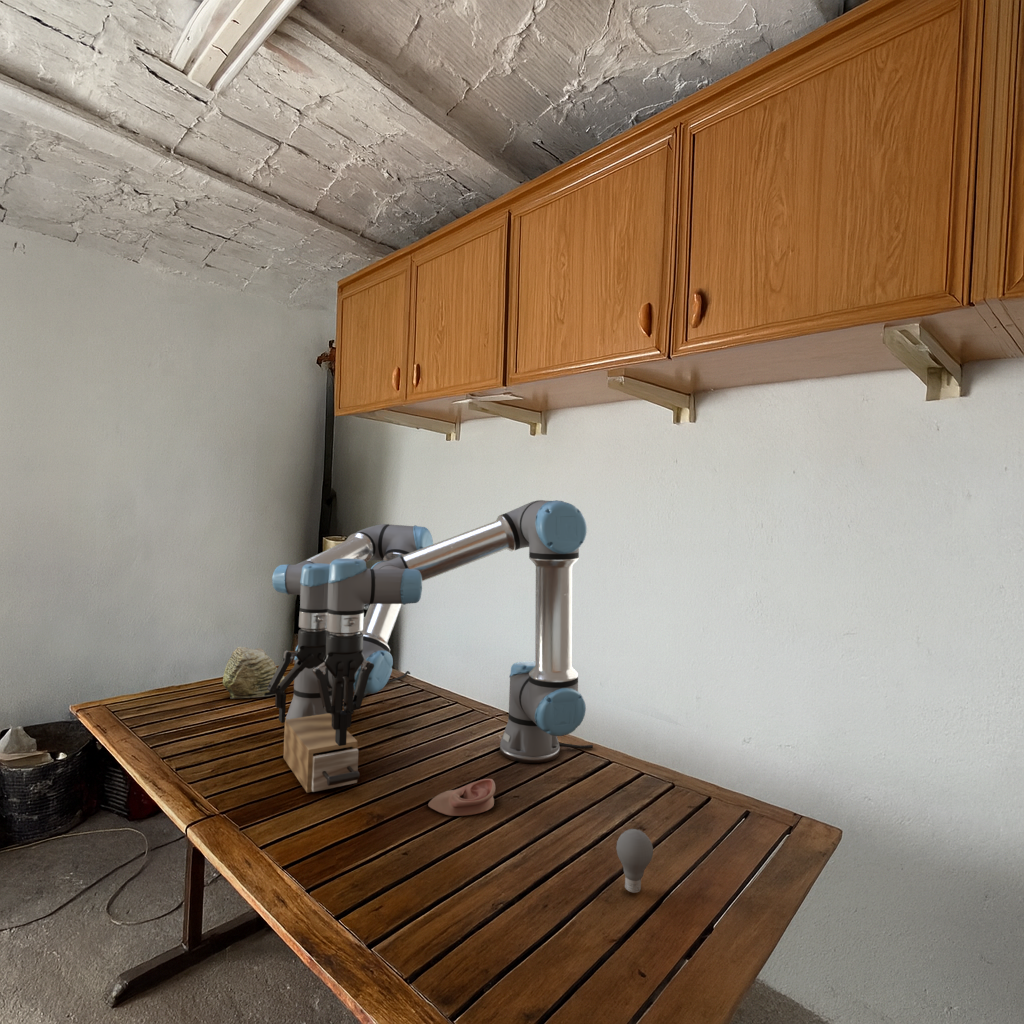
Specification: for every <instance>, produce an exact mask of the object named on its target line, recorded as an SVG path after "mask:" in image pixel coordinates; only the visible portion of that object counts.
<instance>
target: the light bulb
mask: <svg viewBox="0 0 1024 1024" xmlns="http://www.w3.org/2000/svg"><path fill="white" fill-rule="evenodd" d="M615 849H616V854H617V857H618V859H619V861H620V863H621V865H622V867H623V873H624V874H623V875H624V876H625V878H624V888H625V890H627V891H628V892H630V893H634V894H635V893H639V892H640V891H641V889H642V887H641V886H642V879H643V877H644V875H645V871H646V868H647V867H648V866H649V864H650V863H651V861H652V859H653V855H654V847H653V843H652V841H651V838H649V836H648V835H647V834H646V833H645V832H643V831H642V830H641V829H636V828H629V829H627V830H625V831H623V832H622V833H621V834H620V835H619V837H618V839H617V841H616V847H615Z"/></svg>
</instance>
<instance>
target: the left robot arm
mask: <svg viewBox="0 0 1024 1024" xmlns="http://www.w3.org/2000/svg"><path fill="white" fill-rule="evenodd" d="M433 544H434V540H433V535H432V533H431V531H430V530H429V528H427V527H425V526H418V525H416V524H415V525H404V524H403V525H402V524H389V523H388V524H387V523H382V524H381V523H380V524H376V525H372V526H368V527H366V528H363V529H360V530H358V531H356V532H354V533H351V534H350V535H348V537H347V538H346V539H345V541H342V542H341V543H339V544H336V545H334V546H332V547H330V548H328V549H326V550H324V551H322V552H320V553H318V554H315V555H313V556H311V557H309V558H307V559H304V560H303V561H301V562H299V563H296V564H291V563H287V564H279V565H278V566H276V568H275V569H274V570H273V573H272V576H271V581H272V587H273V589H274V590H275V591H276V592H277V593H280V594H286V595H294V596H295V595H296V596H299V600H300V601H299V604H300V605H299V616H298V628H300V629H299V630H298V634H297V645H296V647H295V650H288V649H284V650H283V653H282V659H281V661H280V663H279V665H278V667H276V668H277V670H276V672H275V674H274V676H273V678H272V680H271V681H270V683H269V685H268V687H267V689H268V690H269V692H270V693H275V694H276V695H274V696H275V698H274V699H275V700H274V701H275V702H274V706H275V708H276V709H278V720H279V721H280V723H281V724H285V720H287V719H294V718H301V717H307V716H314V715H321V714H327V712H326V711H325V710H324V709H323V705H322V701H321V696H320V691H319V687H318V682H317V677H316V676H315V674H314V673H313V671H312V668H313V667H318V666H319V665H320V664H322V663H323V659H324V657H325V655H326V635H327V634H328V633H329V632H328V631H327V612H328V580H329V569H330V564H331V562H332V561H333V560H335V559H361V560H364V561H365V562H366V563H368V562H369V561H379V562H380V561H389V560H392V559H395V558H398V557H401V556H403V555H405V554H408V553H411V552H414V551H416V550H419V549H422V548H424V547H427V546H430V545H433ZM402 605H403V604H369V606H368V609H367V610H366V613H365V615H364V623H363V630H362V631H361V633H362V634H363V649H362V653H363V655H364V659H365V660H366V661H370V662H371V663H373V664H374V668H373V669H372V671H371V673H370V674H369V677H368V681H367V685H366V689H365V693H364V696H363V698H364V697H366V696H367V695H368V694H369V695H372V694H377V693H379V692H380V691H382V690H383V689H384V687H385V686H386V685H387V684H391V683H393V682H395V681H399V680H401V679H404V678H405V677H407V675H411V672H410V671H409V670H407V671H406V672H405V673H404V674H402V675H400V676H398V677H395V678H392V679H390V678H391V675H392V672H393V666H394V659H393V656H392V654H391V648H390V645H389V640H390V638H391V635H392V633H393V630H394V627H395V625H396V621H397V620H398V616H399V613H400V611H401V607H402ZM293 660H294V666H293V667H292V669H291V670H290V671H288V673H287V674H286V671H287V669H288V667H289V666H290V663H291V662H292V661H293ZM325 671H326V674H325V675H324V676H325V678H326V682H327V687H328V692H329V697H330V701H331V705H332V674H331V673H330V672H329V670H328V669H327V668H326V669H325ZM360 671H361V666H360V667H359V668H358V670H357V671H356V673H355V680H354V686H353V693H354V692H355V688H356V685H357V681H358V677H359V674H360ZM285 674H286V675H285ZM284 675H285V676H284ZM283 676H284V677H285V678H284V679H283V680H282V681H281V679H282V677H283ZM280 681H281V683H280V684H279V682H280ZM292 683H293V695H292V696H293V697H292V699H291V702H290V704H289V708H288V711H287V710H286V709H287V707H286V706H287V694H286V693H285V691H286V690H287V689H288V688H289V687H290V686H291V684H292ZM278 684H279V685H278ZM343 704H344V677H343V682H342V690H341V711H342V710H343V711H344V708H343ZM286 711H287V713H286ZM330 714H331V715H332V713H330Z"/></svg>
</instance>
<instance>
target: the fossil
mask: <svg viewBox="0 0 1024 1024" xmlns="http://www.w3.org/2000/svg"><path fill="white" fill-rule="evenodd" d="M277 668H278V667H277V665H276V663H275V662H274V660H273V659H272V658H271V657H270V656H269V655H268V654H267V653H266V652H265V650H264V649H263V648H260V647H258V648H251V647H247V646H246V647H245V646H238V647H237V648H236V649H235V650H233V651H232V653H231V656H230V657H229V659H228V660H227V663H226V666H225V668H224V671H223V675H222V676H223V677H222V685H223V687H224V688H225V690H226V691H228V693H229V698H230V699H250V698H264V697H271V696H275V695H276V694H275V693H270V692H269V690H268V689H267V687H268V685H269V683H270V681H271V680H272V678H273V676H274V674H275V672H276V670H277ZM285 677H286V676H284V675H283V677H282V679H281V681H282V680H283V679H284V678H285ZM281 681H280V682H279V684H280V683H281ZM279 684H278V685H279Z"/></svg>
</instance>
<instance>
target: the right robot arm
mask: <svg viewBox="0 0 1024 1024" xmlns="http://www.w3.org/2000/svg"><path fill="white" fill-rule="evenodd" d="M587 526H588V525H587V521H586V518H585V516H584V514H583V513H582V511H580V509H579V508H578V507H577V506H576V505H574V504H572V503H570V502H566V501H563V500H543V499H538V500H534V501H531V502H528V503H525V504H523V505H520V506H519V507H517V508H514V509H511V510H510V511H507V512H505V513H502V514H499V515H498V516H497V518H496V520H495V521H492V522H489V523H486V524H484V525H482V526H479V527H476V528H474V529H470V530H468V531H465V532H462V533H460V534H457V535H454V536H452V537H449V538H446V539H443V540H441V541H438V542H436V543H433V545H430V546H427V547H424V548H422V549H419V550H416V551H414V552H411V553H408V554H405V555H403V556H401V557H398V558H395V559H392V560H389V561H380V560H379V561H378V562H376V563H374V564H373V565H372V566H371V567H369V568H368V567H367V562H365V561H364V560H361V559H335V560H333V561H332V562H331V564H330V569H329V580H328V612H327V631H328V632H329V633H328V634H327V635H326V655H325V657H324V659H323V663H322V664H320V665H319V666H318V667H313V668H312V671H313V673H314V674H315V676H316V677H317V682H318V687H319V691H320V696H321V701H322V705H323V709H324V710H325V711H326V712H327V713H332V725H331V726H332V728H333V729H334V730H336V734H335V742H336V743H337V744H338V745H339V746H343V745H346V737H347V731H348V728H351V727H352V718H353V717H352V715H353V714H354V712H355V710H359V709H360V708H361V707H362V703H363V699H364V697H365V696H364V693H365V689H366V685H367V681H368V677H369V674H370V673H371V671H372V669H373V668H374V664H373V663H371V662H370V661H366V660H365V659H364V655H363V653H362V649H363V634H362V633H361V631H362V630H363V623H364V618H365V605H370V604H402V605H409V604H417V603H419V601H421V599H422V595H423V594H422V593H423V582H425V581H427V580H431V579H433V578H436V577H437V576H440V575H443V574H446V573H449V572H451V571H454V570H457V569H459V568H462V567H464V566H467V565H470V564H472V563H475V562H477V561H480V560H482V559H484V558H488V557H490V556H493V555H495V554H498V553H501V552H503V551H506V550H508V551H510V552H514V551H517V550H520V549H524V548H528V557H529V558H528V559H529V560H530V561H531V562H532V563H533V564H534V565H535V637H534V638H535V640H534V641H535V646H534V647H535V649H534V650H535V655H534V656H535V657H534V658H535V660H525V661H518V662H514V663H513V664H512V665H511V666H510V673H509V690H508V692H509V693H508V718H507V723H506V725H505V729H504V731H503V734H502V737H501V739H500V742H499V752H500V754H501V755H502V756H504V757H505V758H506V759H508V760H511V761H514V762H519V763H525V764H544V763H547V762H551V761H554V760H555V759H557V758H558V757H559V755H560V747H563V748H571V749H577V750H578V749H579V750H587V749H588V750H589V749H594V745H593V744H587V745H585V744H584V745H581V744H580V745H577V744H571V743H565V742H564V743H563V742H559V738H558V737H565V736H567V735H570V734H572V733H573V732H575V731H576V730H577V729H578V727H579V726H580V725H581V724H582V722H583V721H584V719H585V716H586V710H587V708H586V707H587V706H586V702H585V699H584V697H583V695H582V694H581V693H580V691H579V673H578V672H577V670H576V669H574V667H573V665H572V664H573V660H572V659H573V655H572V654H573V653H572V652H573V641H572V640H573V628H572V627H573V566H574V565H575V564H576V562H577V561H578V560H579V557H580V547H581V546H582V545H583V543H585V540H586V537H587V533H588V532H587V531H588V527H587ZM360 666H361V671H360V674H359V677H358V681H357V685H356V688H355V692H353V686H354V680H355V673H356V671H357V670H358V668H359V667H360ZM326 668H327V669H328V670H329V672H330V673H331V674H332V705H331V701H330V697H329V692H328V687H327V682H326V678H325V676H324V675H325V674H326V671H325V669H326ZM343 677H344V700H343V710H342V711H341V690H342V682H343ZM363 696H364V697H363Z"/></svg>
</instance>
